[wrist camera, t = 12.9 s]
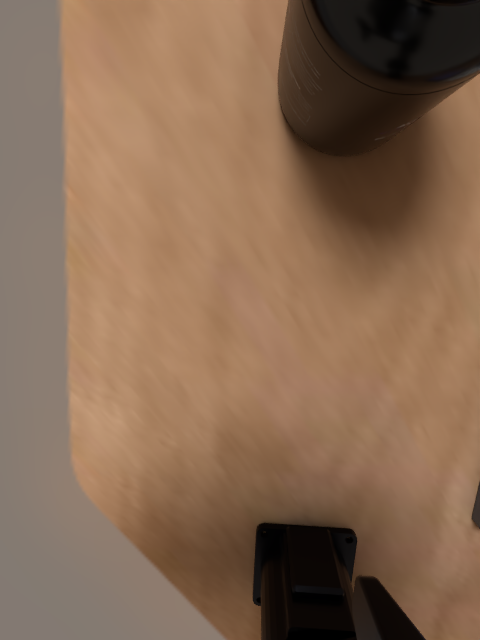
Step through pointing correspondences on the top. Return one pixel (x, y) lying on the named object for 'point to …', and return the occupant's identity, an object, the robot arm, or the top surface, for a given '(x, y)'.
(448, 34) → the supplement bottle
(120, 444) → the top surface
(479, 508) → the ink pad
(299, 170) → the top surface
